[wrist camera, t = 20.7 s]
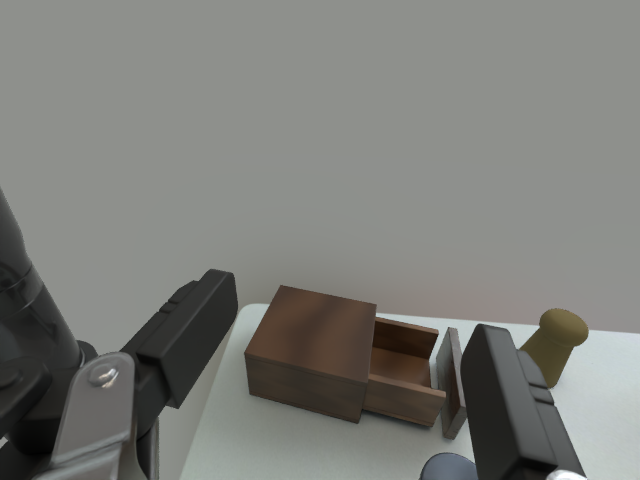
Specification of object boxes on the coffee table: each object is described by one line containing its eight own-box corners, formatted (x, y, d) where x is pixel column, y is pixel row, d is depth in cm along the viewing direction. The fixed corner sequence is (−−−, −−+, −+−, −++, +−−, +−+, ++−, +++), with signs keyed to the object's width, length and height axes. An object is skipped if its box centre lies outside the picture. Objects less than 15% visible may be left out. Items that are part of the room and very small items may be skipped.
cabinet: (368, 343, 48) (376, 304, 44) (358, 424, 38) (367, 383, 33) (281, 324, 51) (280, 284, 46) (249, 394, 40) (244, 352, 36)
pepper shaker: (547, 357, 48) (583, 306, 42) (564, 392, 43) (608, 341, 37) (506, 348, 49) (536, 298, 43) (518, 382, 44) (553, 330, 38)
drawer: (473, 366, 45) (489, 335, 41) (491, 450, 35) (514, 419, 32) (354, 339, 48) (359, 308, 44) (341, 410, 38) (347, 378, 35)
